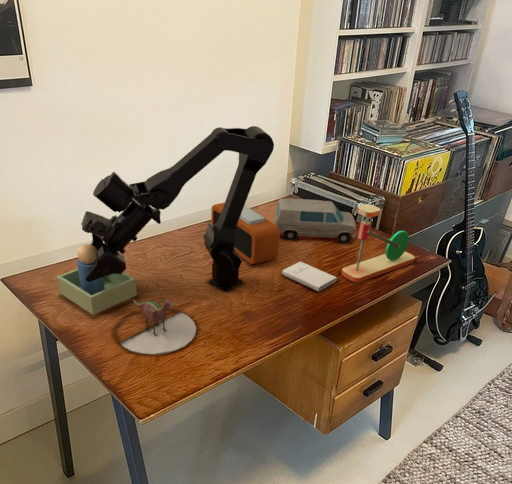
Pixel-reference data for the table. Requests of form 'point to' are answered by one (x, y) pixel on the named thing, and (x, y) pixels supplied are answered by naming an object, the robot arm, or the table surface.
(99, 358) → the table surface
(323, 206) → the toy car
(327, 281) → the hard drive
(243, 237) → the alarm clock
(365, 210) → the crank mechanism
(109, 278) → the green square tray
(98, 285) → the peg doll
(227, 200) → the robot arm
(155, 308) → the dinosaur
